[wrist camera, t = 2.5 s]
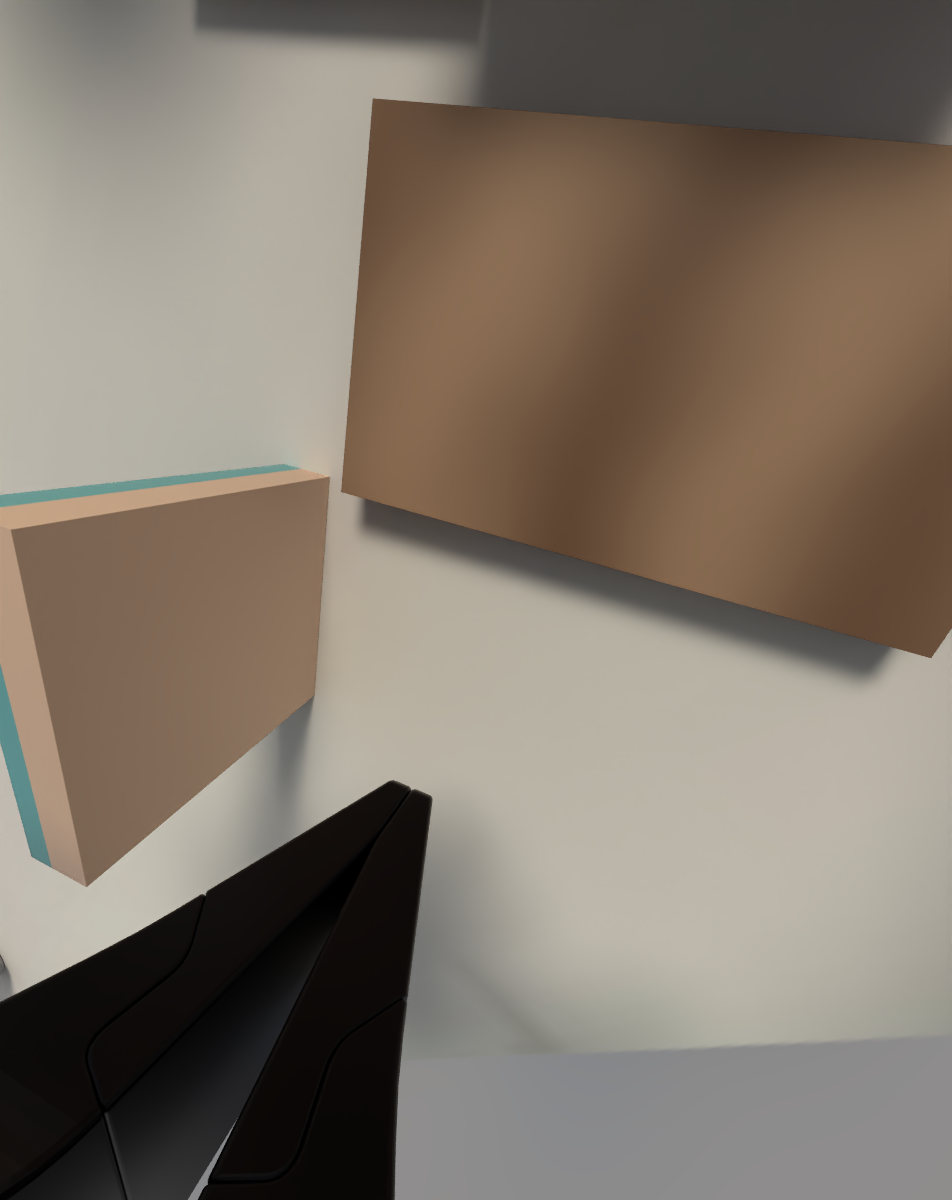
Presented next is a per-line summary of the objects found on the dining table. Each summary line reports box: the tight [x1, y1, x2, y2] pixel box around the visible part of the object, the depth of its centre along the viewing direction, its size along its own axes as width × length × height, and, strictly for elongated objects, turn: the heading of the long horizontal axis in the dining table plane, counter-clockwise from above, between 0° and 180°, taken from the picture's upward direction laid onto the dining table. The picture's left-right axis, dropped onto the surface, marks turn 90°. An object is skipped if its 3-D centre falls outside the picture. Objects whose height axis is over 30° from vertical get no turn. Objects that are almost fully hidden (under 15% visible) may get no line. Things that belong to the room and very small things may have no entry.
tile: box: [0, 464, 330, 887], centre depth 12 cm, size 2×8×8 cm, turn 168°
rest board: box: [341, 99, 952, 658], centre depth 10 cm, size 14×8×1 cm, turn 78°
